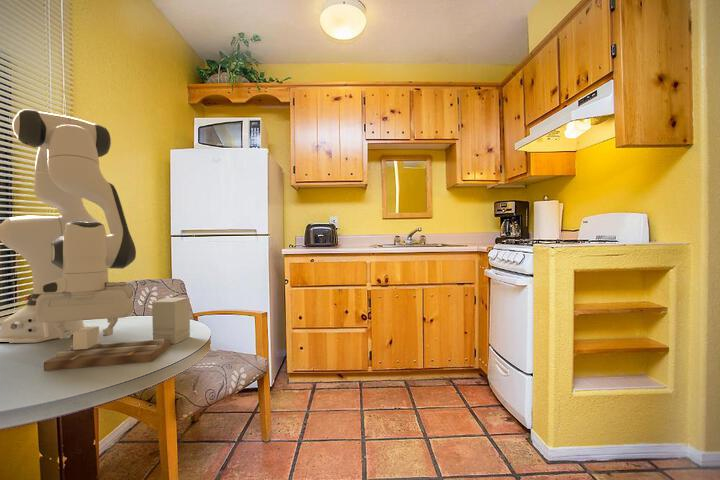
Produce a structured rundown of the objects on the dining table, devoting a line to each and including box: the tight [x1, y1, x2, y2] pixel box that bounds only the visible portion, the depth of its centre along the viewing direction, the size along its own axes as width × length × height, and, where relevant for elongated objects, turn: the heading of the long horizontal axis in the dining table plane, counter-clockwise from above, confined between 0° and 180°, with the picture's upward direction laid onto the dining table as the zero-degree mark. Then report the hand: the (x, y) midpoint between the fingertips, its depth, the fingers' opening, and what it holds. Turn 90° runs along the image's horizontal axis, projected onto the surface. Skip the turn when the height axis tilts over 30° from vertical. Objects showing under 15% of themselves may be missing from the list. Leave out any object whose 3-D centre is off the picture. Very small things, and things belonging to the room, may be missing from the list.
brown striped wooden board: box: [43, 339, 171, 371], centre depth 83 cm, size 23×12×3 cm, turn 103°
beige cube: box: [71, 325, 102, 351], centre depth 82 cm, size 5×5×5 cm
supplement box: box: [151, 297, 191, 345], centre depth 97 cm, size 7×7×13 cm
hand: (87, 336), depth 82 cm, fingers open, 8 cm apart
